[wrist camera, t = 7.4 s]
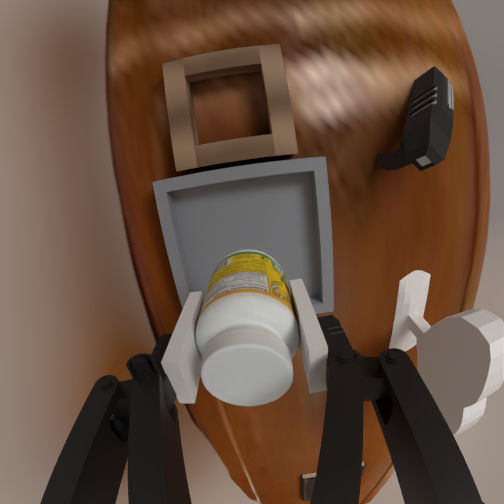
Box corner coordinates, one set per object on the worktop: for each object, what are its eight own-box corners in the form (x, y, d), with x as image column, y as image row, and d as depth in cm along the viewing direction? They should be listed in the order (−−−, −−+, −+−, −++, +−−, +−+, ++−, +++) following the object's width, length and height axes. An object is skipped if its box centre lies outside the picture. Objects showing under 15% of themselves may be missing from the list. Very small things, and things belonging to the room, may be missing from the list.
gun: (407, 104, 28) (457, 71, 18) (381, 194, 25) (458, 165, 15) (391, 90, 27) (441, 54, 17) (360, 177, 24) (437, 139, 14)
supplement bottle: (208, 248, 19) (173, 328, 10) (286, 246, 19) (315, 325, 10) (215, 315, 21) (195, 413, 12) (285, 313, 21) (303, 411, 11)
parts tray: (160, 179, 26) (152, 182, 24) (318, 156, 25) (325, 156, 23) (192, 316, 31) (188, 328, 29) (328, 300, 30) (333, 311, 28)
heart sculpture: (413, 353, 34) (466, 439, 17) (386, 361, 34) (434, 456, 17) (432, 260, 29) (528, 337, 12) (401, 265, 29) (497, 356, 12)
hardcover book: (364, 459, 47) (366, 466, 45) (352, 485, 55) (353, 491, 52) (301, 472, 48) (302, 480, 46) (301, 495, 55) (302, 501, 53)
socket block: (169, 70, 22) (162, 63, 20) (277, 53, 22) (279, 44, 19) (183, 170, 26) (176, 171, 23) (293, 154, 25) (297, 153, 23)
